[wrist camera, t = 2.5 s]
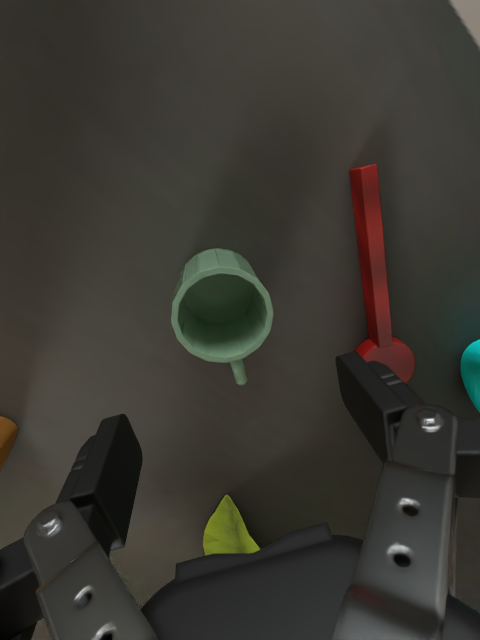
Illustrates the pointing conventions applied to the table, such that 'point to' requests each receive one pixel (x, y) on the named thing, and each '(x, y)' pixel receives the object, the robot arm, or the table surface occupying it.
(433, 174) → the table surface
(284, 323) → the table surface
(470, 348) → the donuts
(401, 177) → the table surface
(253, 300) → the mug
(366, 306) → the spoon
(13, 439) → the coffee package
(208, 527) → the artificial plant
